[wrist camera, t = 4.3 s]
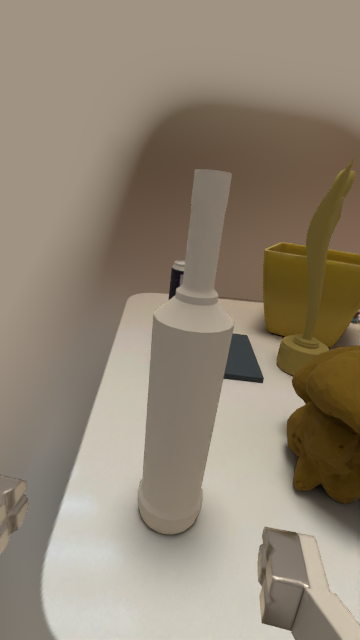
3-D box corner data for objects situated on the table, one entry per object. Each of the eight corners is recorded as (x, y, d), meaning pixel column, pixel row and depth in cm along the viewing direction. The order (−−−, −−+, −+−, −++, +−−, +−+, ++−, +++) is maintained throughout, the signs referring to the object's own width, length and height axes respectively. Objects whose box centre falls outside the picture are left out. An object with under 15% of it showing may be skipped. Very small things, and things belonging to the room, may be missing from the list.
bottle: (212, 504, 27) (275, 180, 18) (173, 552, 23) (232, 166, 14) (164, 471, 30) (200, 175, 21) (122, 508, 26) (146, 162, 17)
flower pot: (350, 361, 58) (381, 267, 52) (246, 333, 65) (263, 248, 59) (349, 329, 74) (372, 256, 68) (266, 310, 81) (280, 242, 75)
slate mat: (153, 369, 47) (153, 364, 47) (163, 329, 62) (163, 325, 62) (262, 382, 47) (263, 378, 47) (246, 339, 62) (247, 335, 62)
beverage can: (195, 318, 70) (203, 262, 66) (191, 327, 65) (199, 267, 61) (170, 313, 71) (176, 258, 67) (163, 322, 66) (169, 263, 61)
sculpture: (281, 350, 59) (325, 169, 48) (324, 362, 56) (379, 172, 46) (269, 375, 49) (320, 157, 39) (319, 391, 47) (388, 160, 36)
